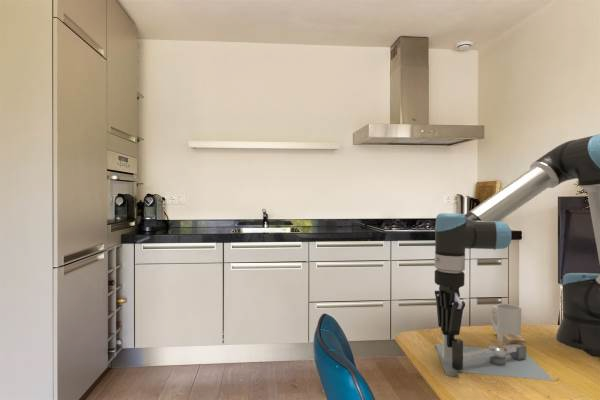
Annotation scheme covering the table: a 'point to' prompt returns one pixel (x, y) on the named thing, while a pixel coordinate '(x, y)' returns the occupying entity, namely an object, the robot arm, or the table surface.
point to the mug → (506, 320)
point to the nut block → (513, 340)
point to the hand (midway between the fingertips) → (447, 357)
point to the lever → (484, 353)
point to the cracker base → (496, 366)
